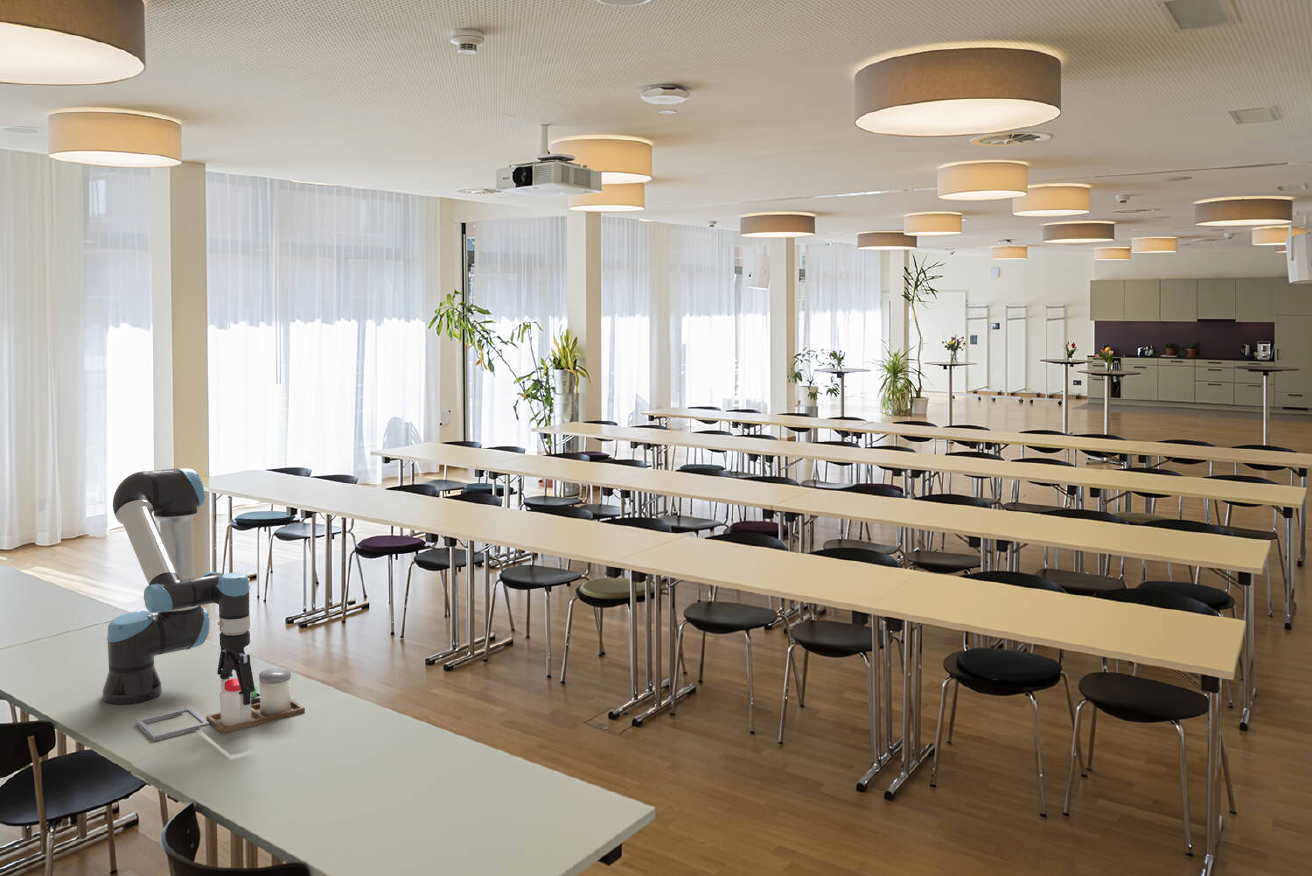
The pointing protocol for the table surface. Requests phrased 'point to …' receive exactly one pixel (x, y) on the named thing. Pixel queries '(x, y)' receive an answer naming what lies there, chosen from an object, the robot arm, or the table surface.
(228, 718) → the pill bottle
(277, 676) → the seated part
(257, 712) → the brown divided tray
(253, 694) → the button
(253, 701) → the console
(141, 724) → the tray
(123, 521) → the robot arm
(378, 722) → the table surface
